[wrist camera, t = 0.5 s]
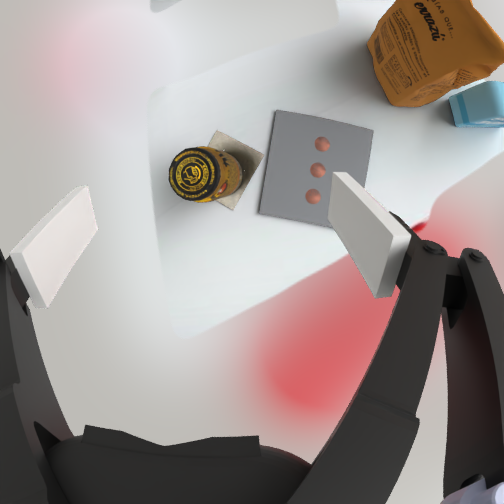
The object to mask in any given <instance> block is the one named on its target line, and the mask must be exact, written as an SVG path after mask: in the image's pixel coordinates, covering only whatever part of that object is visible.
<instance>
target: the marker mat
mask: <svg viewBox="0 0 504 504" xmlns="http://www.w3.org/2000/svg"><path fill="white" fill-rule="evenodd" d="M372 137H373V130H370V129H366V128H362V127H358V126H355V125H351V124H346V123H342V122H338V121H334V120H329V119H324V118H320V117H315V116H310V115H304V114H299V113H293V112H287V111H281V110H276V116H275V122H274V128H273V134H272V140H271V146H270V152H269V158H268V164H267V170H266V176H265V182H264V188H263V193H262V199H261V205H260V211H259V214H264V215H270V216H275V217H281V218H286V219H291V220H296V221H302V222H307V223H312V224H317V225H322V226H327V227H332V228H333V226H332V225H331V223H330V222H329V220H328V211H329V203H330V195H331V186H332V177H333V172H347V173H348V174H349V175H350V176H351V177H352V178H353V179H354V180H355V181H357V182H358V183H359V184H360V185H361V186H362V187H363V188H364V186H365V181H366V175H367V170H368V164H369V157H370V151H371V144H372Z"/></svg>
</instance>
